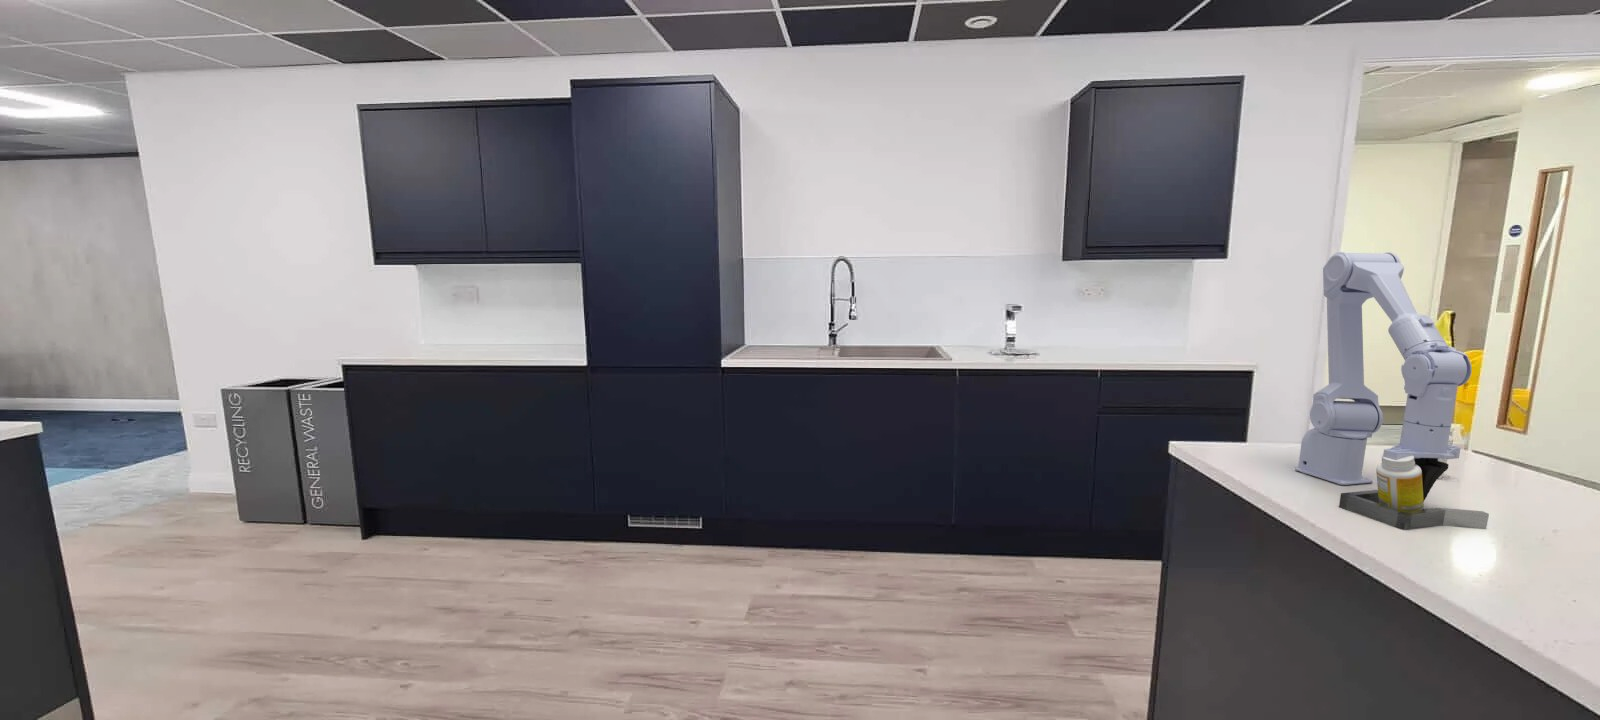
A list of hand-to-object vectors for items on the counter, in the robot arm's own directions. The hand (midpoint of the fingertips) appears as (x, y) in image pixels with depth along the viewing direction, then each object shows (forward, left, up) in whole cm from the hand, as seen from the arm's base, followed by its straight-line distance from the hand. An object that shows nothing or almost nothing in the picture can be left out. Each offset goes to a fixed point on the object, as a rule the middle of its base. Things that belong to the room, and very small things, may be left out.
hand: (1414, 500), depth 109 cm
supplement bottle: (0, -3, -2) cm, 3 cm away
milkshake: (-14, +26, -2) cm, 30 cm away
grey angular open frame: (0, -2, -2) cm, 3 cm away
